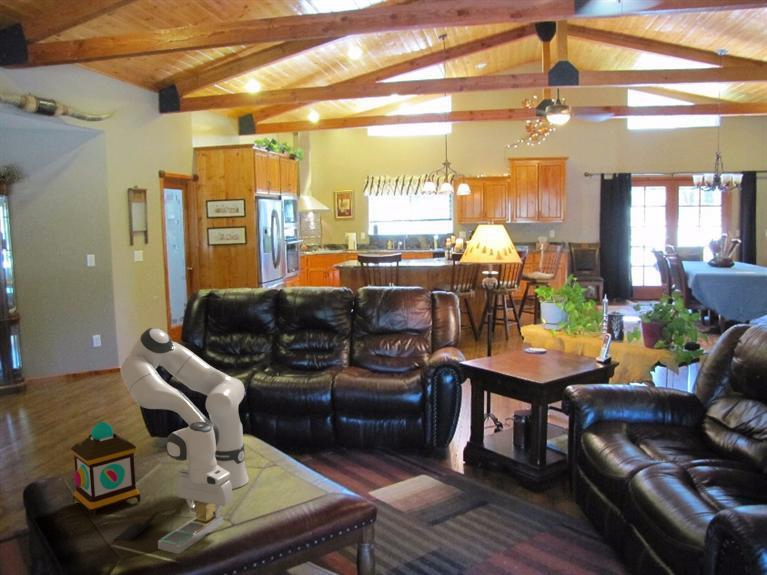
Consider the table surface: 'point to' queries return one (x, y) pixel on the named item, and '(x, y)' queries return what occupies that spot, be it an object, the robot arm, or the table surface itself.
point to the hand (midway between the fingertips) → (205, 513)
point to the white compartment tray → (187, 535)
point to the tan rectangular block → (204, 512)
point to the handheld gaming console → (134, 530)
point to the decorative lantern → (104, 469)
